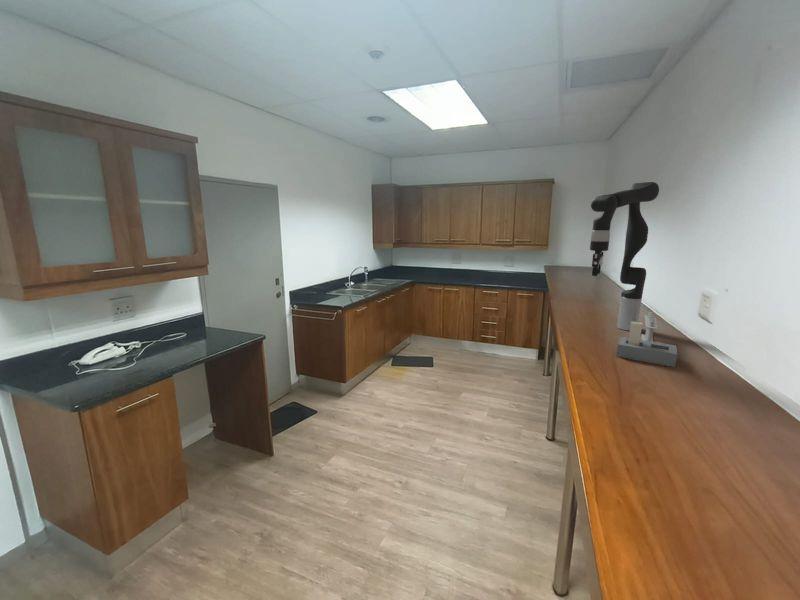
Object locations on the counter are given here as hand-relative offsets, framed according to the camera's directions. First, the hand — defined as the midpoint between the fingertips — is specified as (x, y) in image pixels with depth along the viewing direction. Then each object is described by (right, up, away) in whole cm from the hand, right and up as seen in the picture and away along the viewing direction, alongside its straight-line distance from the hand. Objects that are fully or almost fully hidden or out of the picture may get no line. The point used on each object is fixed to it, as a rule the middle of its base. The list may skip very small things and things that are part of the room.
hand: (595, 274), depth 165 cm
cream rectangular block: (+8, -35, -14) cm, 38 cm away
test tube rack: (+25, -33, 0) cm, 41 cm away
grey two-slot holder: (+11, -37, -17) cm, 42 cm away
